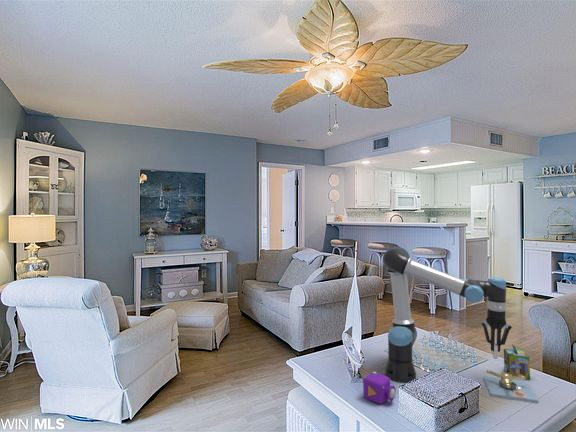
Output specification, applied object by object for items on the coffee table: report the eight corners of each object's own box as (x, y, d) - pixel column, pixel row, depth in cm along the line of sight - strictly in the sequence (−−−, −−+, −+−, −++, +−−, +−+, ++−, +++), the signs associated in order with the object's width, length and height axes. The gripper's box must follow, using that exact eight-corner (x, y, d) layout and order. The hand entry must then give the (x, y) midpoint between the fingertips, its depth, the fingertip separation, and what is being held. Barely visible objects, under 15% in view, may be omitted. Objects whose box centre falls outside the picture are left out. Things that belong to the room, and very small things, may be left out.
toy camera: (392, 409, 142) (392, 386, 142) (361, 400, 149) (361, 378, 149) (399, 397, 151) (398, 375, 151) (369, 389, 158) (369, 368, 158)
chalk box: (530, 380, 166) (530, 350, 166) (509, 377, 169) (508, 348, 169) (523, 371, 175) (523, 343, 175) (503, 369, 178) (503, 341, 178)
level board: (491, 396, 152) (490, 392, 152) (483, 378, 168) (483, 375, 168) (538, 403, 146) (538, 399, 146) (525, 384, 162) (525, 381, 162)
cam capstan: (517, 399, 146) (517, 385, 146) (477, 383, 160) (477, 370, 160) (533, 389, 154) (533, 376, 154) (494, 374, 169) (494, 362, 169)
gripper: (482, 310, 162) (481, 358, 162) (514, 313, 158) (513, 363, 158) (479, 306, 169) (478, 352, 169) (509, 309, 165) (508, 356, 165)
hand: (495, 357), depth 164 cm, fingers closed
